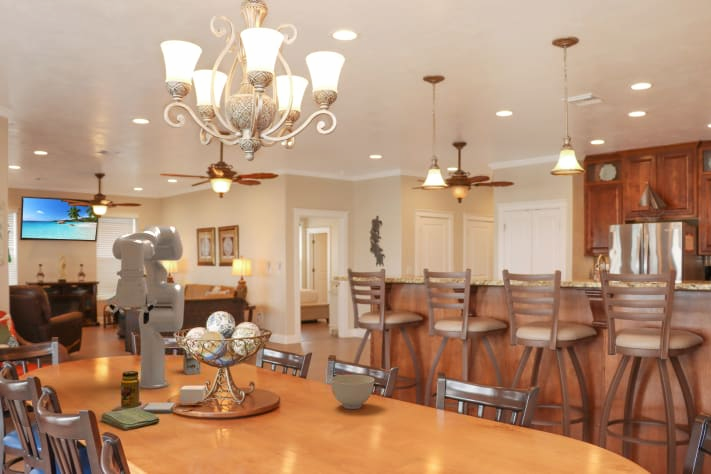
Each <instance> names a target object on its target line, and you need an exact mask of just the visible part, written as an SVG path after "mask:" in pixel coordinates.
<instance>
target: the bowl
mask: <svg viewBox="0 0 711 474" xmlns="http://www.w3.org/2000/svg"><path fill="white" fill-rule="evenodd" d="M374 384H375V378H374V377H372V376H368V375H364V374H362V375H361V374H339V375H336V376H332V377H331V378H330V386H331V390H332V393H333V396H334V398H335V399H336V400H337V401H338V403H340V404H342V406H343V408H345V409H346V410H347V409H348V410H357V409H360V408H362V405H364V404H365V403H366V402H368V400H369V399H370V398H371V395H372V392H373V389H374Z"/></svg>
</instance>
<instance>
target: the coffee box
mask: <svg viewBox="0 0 711 474" xmlns="http://www.w3.org/2000/svg"><path fill="white" fill-rule="evenodd" d="M182 359H183V373H184V374H185V375H199V374H201V361H200V362H199V361H197V360H196V359H194V358H193V357H191V356H189V355H188V354H187V353H186V352H185V350H184V349H183V358H182Z"/></svg>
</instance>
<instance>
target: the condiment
mask: <svg viewBox="0 0 711 474" xmlns="http://www.w3.org/2000/svg"><path fill="white" fill-rule="evenodd" d="M121 377H122V380H121V382H120V403H119V404H120V407H119V409H130V408H141V405H142V403H143V401H142V400H141V401H140V388H139V382H140V379H139V372H138V371H135V370H128V371H124V372H122V376H121Z"/></svg>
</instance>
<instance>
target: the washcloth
mask: <svg viewBox="0 0 711 474" xmlns="http://www.w3.org/2000/svg"><path fill="white" fill-rule="evenodd" d="M100 418H101V419H100V420H101V421H102V422H105V423H106V424H107V425H111V426H114V427H117V428H119V429H123V430H124V431H125V430H126V431H128V430H133V429H136V428H140V427H144V426H147V425H151V424H152V425H153V424H157V423H159V422H160V420H161V419H160V418H159V416H158V415H156V413H149V412H145V411H143V410H141V409H137V408H130V409H123V410H120V411H107V412H103V413H102V414H101V417H100Z"/></svg>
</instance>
